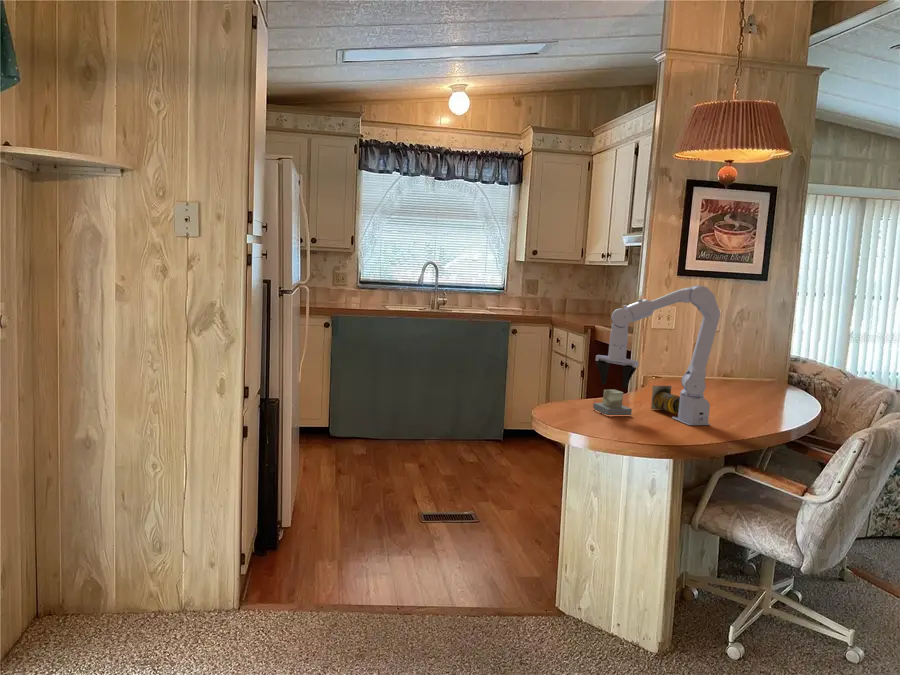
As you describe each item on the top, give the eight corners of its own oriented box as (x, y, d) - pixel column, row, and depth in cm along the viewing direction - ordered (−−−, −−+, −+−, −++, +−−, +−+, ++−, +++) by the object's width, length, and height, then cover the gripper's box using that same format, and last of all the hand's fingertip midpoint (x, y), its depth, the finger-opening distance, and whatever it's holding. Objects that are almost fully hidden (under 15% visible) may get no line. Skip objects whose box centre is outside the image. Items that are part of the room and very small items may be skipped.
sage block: (621, 407, 224) (623, 392, 223) (610, 407, 222) (612, 392, 221) (613, 404, 228) (615, 389, 227) (602, 404, 226) (603, 389, 225)
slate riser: (630, 417, 222) (631, 409, 222) (607, 418, 219) (607, 409, 219) (615, 411, 231) (616, 402, 230) (592, 411, 228) (593, 403, 227)
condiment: (650, 409, 234) (671, 416, 223) (652, 385, 234) (673, 390, 222) (669, 409, 236) (690, 416, 225) (670, 385, 236) (692, 390, 224)
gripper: (644, 347, 220) (640, 388, 222) (604, 341, 230) (600, 380, 232) (634, 348, 215) (630, 390, 217) (593, 342, 225) (590, 382, 226)
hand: (614, 385), depth 224 cm, fingers open, 7 cm apart
